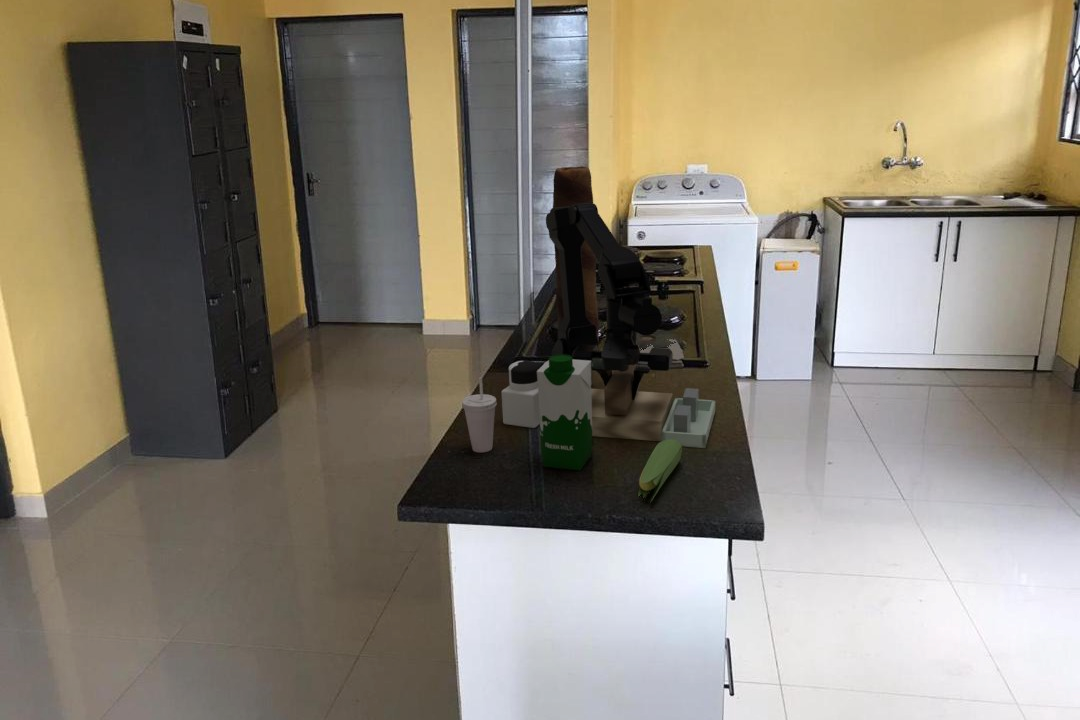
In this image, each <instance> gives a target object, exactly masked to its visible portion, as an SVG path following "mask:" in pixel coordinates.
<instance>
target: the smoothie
mask: <svg viewBox="0 0 1080 720" xmlns="http://www.w3.org/2000/svg"><path fill="white" fill-rule="evenodd" d="M478 382H479V394H472V395H468V396H466V397H464V398H463V399H462V400H461V407H462V409H464V410H463V411H464V414H465V420H466V423H467V429H468V435H469V439H470V443H471V449H472V451H473V452H474V453H486V452H489V451H491V450H492V449H493V441H494V430H495V429H494V426H495V412H496V411H495V410H496V406H497V398H496V396H494V395H491V394H487V393H486V394H485V393H484V388H483V387H484V385H483V384H484V383H483V377H479V378H478Z"/></svg>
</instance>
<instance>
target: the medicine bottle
mask: <svg viewBox="0 0 1080 720" xmlns="http://www.w3.org/2000/svg"><path fill="white" fill-rule="evenodd" d="M539 369H540V365H539V364H538V363H537V362H535V361H532V360H518V361H515V362H513V363H510V365H509V366H508V378H509V379H508V380H509V382H508V383H509V385H508V386H507V387H506V388H504V389H502V390H501V391H500V392H501V408H502V409H501V410H502V422H503V424H504V425H510V426H517V427H523V428H530V429H531V428H532V429H535V428H537V427H538V426H540V415H539V393H538V379H537V371H538V370H539Z"/></svg>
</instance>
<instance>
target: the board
mask: <svg viewBox="0 0 1080 720" xmlns="http://www.w3.org/2000/svg"><path fill="white" fill-rule="evenodd" d="M604 389H605V388H591V394H592V437H598V438H613V439H624V440H637V441H638V440H639V441H652V442H662V430H663V428H664V425H665V423H666V420H667V418H668V415H669V413H670V410H671V408H672V405H673V403H674V393H670V392H654V391H639V390H638V391H637V394H636V397H635V399H634V400H633V402H632V404H631V406H630V408H629V410H628V412H627V414H626V415H613V414H605V398H604Z"/></svg>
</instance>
